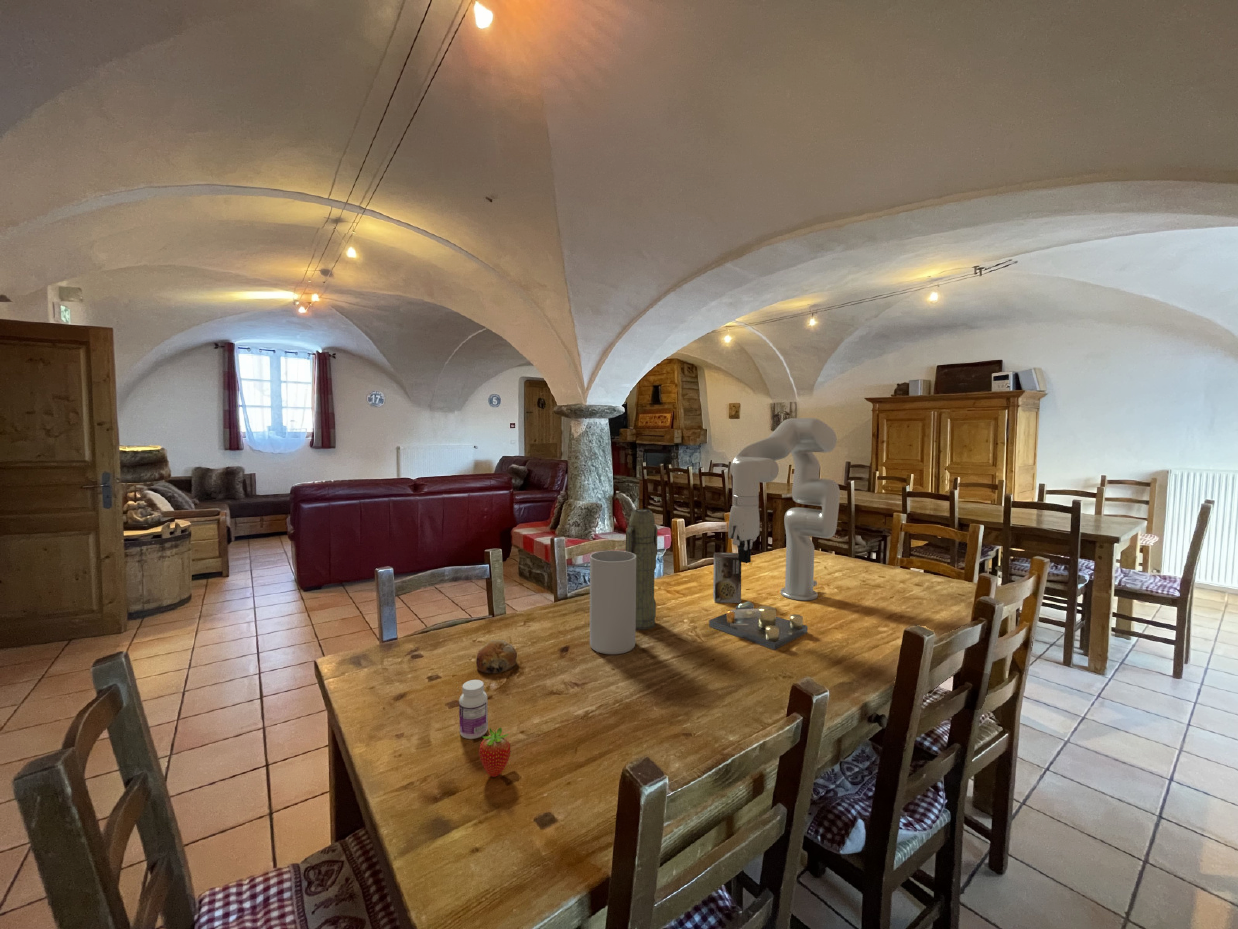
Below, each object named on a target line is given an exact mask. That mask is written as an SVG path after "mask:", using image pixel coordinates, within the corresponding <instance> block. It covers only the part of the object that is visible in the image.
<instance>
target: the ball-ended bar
mask: <svg viewBox="0 0 1238 929" xmlns="http://www.w3.org/2000/svg"><path fill="white" fill-rule="evenodd" d="M726 613H727V622H728V623H735V618H757V617H758V626H759V627H761V628H765V629H766V626H769V625H772V626H776V616H777V608H775V607H774V606H770V605H769V606H768V605H761V606H759V607H757V608H754V609H736V608H734V609H728V610H726Z"/></svg>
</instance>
